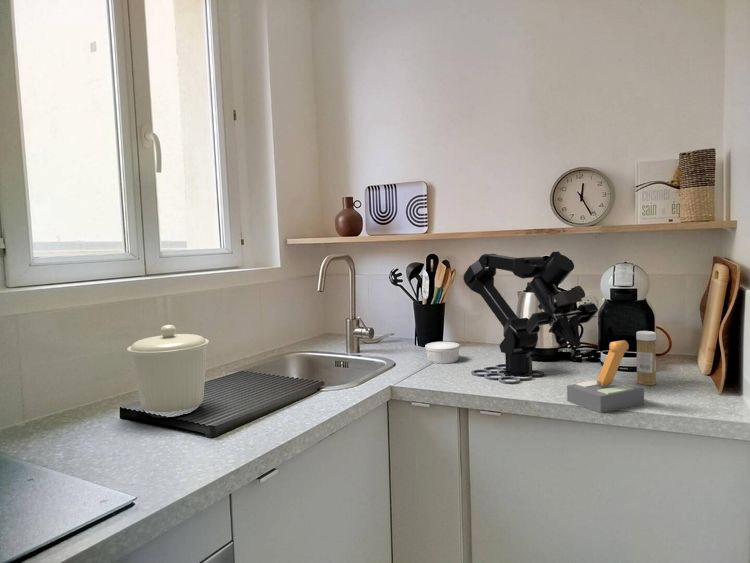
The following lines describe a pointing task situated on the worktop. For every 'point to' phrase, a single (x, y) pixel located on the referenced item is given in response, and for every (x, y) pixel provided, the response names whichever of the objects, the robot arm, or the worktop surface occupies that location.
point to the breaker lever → (612, 362)
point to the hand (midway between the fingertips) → (578, 346)
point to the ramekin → (442, 352)
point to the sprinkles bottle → (646, 357)
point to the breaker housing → (605, 395)
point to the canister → (169, 370)
